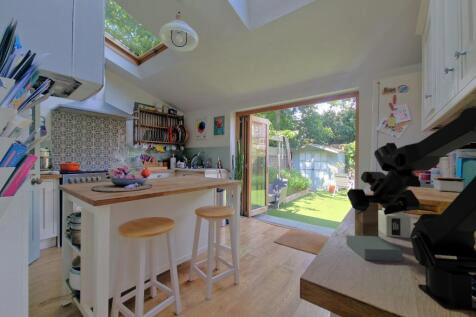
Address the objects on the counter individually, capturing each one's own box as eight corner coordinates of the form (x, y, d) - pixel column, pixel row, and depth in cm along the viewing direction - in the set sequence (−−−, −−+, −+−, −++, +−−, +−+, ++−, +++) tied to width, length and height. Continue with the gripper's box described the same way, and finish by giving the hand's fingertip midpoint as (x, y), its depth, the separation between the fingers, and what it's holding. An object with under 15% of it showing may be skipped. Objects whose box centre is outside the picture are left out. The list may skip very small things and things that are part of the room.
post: (378, 243, 68) (378, 200, 68) (362, 242, 68) (362, 200, 68) (369, 237, 73) (369, 197, 73) (354, 237, 73) (354, 197, 73)
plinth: (402, 260, 55) (402, 249, 56) (364, 260, 56) (364, 248, 56) (378, 245, 65) (378, 236, 66) (346, 245, 66) (346, 235, 66)
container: (411, 238, 72) (410, 201, 72) (386, 236, 74) (386, 200, 74) (398, 231, 80) (398, 197, 80) (376, 229, 81) (376, 196, 81)
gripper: (412, 163, 62) (387, 193, 73) (349, 163, 63) (334, 193, 74) (436, 193, 55) (404, 222, 65) (364, 192, 55) (344, 221, 66)
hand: (370, 213), depth 68 cm, fingers open, 9 cm apart
